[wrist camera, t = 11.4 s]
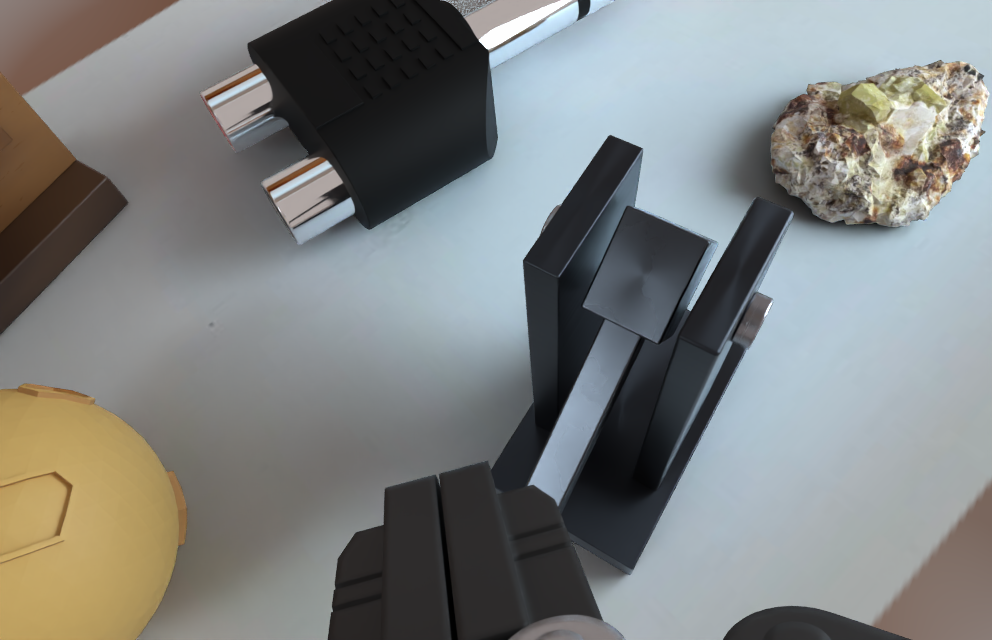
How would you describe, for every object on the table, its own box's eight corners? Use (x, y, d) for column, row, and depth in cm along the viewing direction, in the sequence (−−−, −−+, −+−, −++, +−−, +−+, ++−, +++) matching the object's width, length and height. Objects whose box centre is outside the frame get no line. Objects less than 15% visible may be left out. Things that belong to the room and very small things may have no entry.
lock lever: (544, 638, 23) (508, 694, 20) (457, 581, 24) (410, 627, 21) (738, 250, 20) (729, 249, 17) (630, 203, 21) (604, 194, 18)
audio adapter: (171, 49, 33) (624, -176, 38) (220, 132, 38) (616, -78, 43) (284, 214, 28) (779, -67, 34) (323, 285, 33) (751, 29, 38)
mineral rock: (865, 248, 29) (757, 80, 31) (810, 281, 33) (717, 132, 35) (1070, 142, 31) (960, -11, 33) (994, 186, 36) (899, 49, 37)
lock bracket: (629, 575, 27) (684, 476, 15) (486, 489, 28) (439, 343, 17) (745, 352, 30) (858, 137, 19) (611, 288, 32) (641, 56, 21)
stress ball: (240, 669, 26) (78, 649, 17) (-46, 760, 25) (-367, 788, 17) (210, 411, 31) (69, 289, 22) (-33, 482, 30) (-280, 387, 21)
